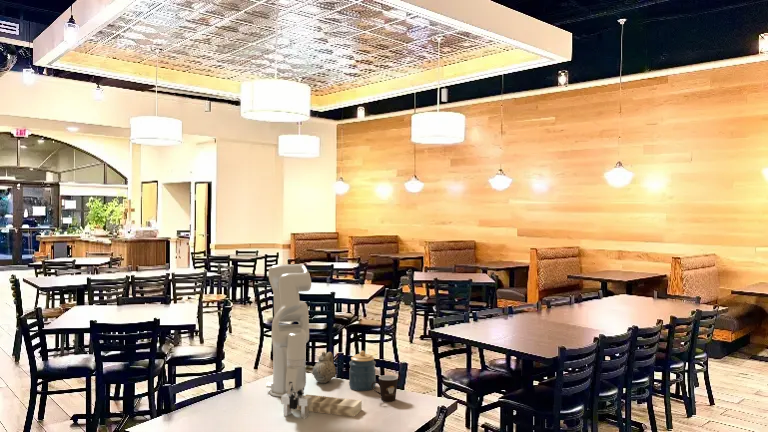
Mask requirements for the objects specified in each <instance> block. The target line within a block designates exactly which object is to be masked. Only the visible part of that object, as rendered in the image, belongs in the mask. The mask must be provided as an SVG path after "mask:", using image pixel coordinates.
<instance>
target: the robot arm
mask: <svg viewBox="0 0 768 432" xmlns="http://www.w3.org/2000/svg"><path fill="white" fill-rule="evenodd" d="M268 281H269V283H270V287H271V289H272V292H273V315H274V317H273V320H272V323H271V333H270V335H271V343H272V355H273V356H272V359H273V360H272V362H273V363H272V367H273V369H272V376H273V377H272V379H273V380H272V382H269V381H268V382H266V385H265V388H269V389H270V390H269V394H270V396H273V397H279V398H281V396H282V395H284V394H287V395H288V396H289V408H290V409H292V410H297V399H296V396H297V395H304V393H305V392H304V390H305V388H306V385H307V374H306V373H307V372H306V371H307V370H306V367H307V366H306V365H307V364H306V363H307V362H306V361H307V360H306V359H307V358H306V357H307V356H306V352H307V351H306V349H307V346H306V345H307V343H308V342H309V340H310V324H309V323H310V321H309V306H308V304H307V303H306V302H305V301H303V300H300V292H308V291H310V290H311V288H312V278H311V275H310V272H309V270H308V269H307V267H306V265H305V264H302V263H301V264H300V263H295V264H275V265H272V266H270V268H268ZM291 322H297V323H298V324H282V325H281V324H280V323H291ZM293 394H294V395H293Z"/></svg>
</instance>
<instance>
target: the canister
mask: <svg viewBox="0 0 768 432" xmlns="http://www.w3.org/2000/svg"><path fill="white" fill-rule="evenodd" d="M350 359H351V360H350V361H349V362H348V363H349V367H350V368H349V370H348V371H349V380H348V381H349V382H348V386H349V389H350V390H354V391H360V392H361V391H363V392H365V391H370V390H371V391H372V390H373V389H374V390H375V388H376V385H377V383H374V384H373V389H372V387H371V385H372V383H373V382H375V381H377V379H376V375H377V373H376V371H377V369H376V367H375V366H376V364H377V363H376V361H375V357H374V356H373V355H372V354H369V353H366V351H365V350H361V351H359V353H357V354H354V355H353V356H351V357H350Z"/></svg>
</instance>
